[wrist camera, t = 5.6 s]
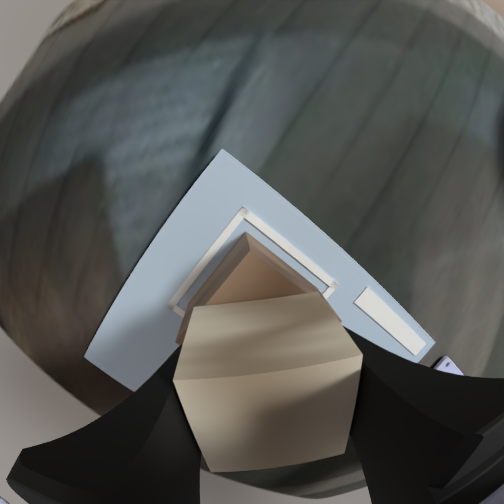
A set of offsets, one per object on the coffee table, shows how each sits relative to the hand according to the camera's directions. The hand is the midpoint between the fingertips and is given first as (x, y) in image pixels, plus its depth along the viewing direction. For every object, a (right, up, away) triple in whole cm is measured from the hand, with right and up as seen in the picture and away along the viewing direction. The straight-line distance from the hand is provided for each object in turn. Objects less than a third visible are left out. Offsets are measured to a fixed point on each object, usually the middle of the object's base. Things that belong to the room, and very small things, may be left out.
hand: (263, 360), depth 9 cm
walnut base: (0, +1, +6) cm, 6 cm away
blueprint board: (+1, -3, +7) cm, 8 cm away
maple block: (0, 0, +1) cm, 1 cm away
